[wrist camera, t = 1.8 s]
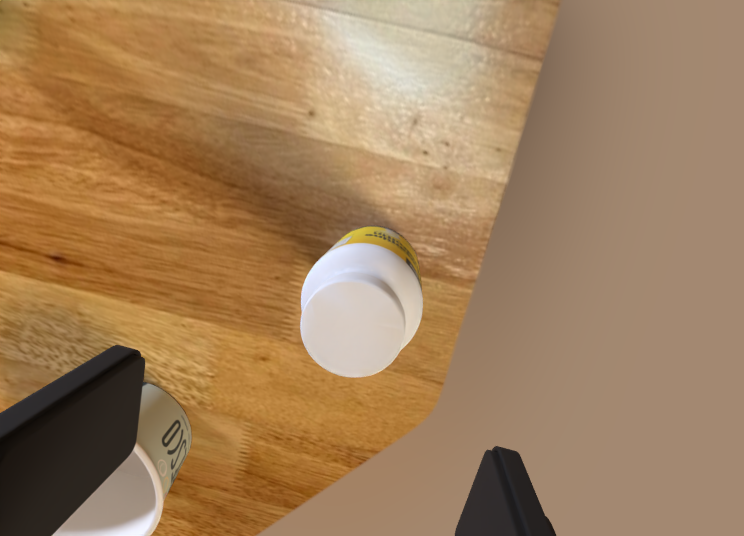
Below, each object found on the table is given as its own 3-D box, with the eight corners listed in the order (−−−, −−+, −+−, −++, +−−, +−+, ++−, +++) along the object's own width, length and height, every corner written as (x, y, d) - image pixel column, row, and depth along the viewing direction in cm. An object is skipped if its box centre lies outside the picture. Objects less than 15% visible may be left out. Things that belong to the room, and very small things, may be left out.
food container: (56, 368, 33) (-27, 415, 27) (190, 360, 32) (136, 407, 25) (95, 488, 36) (28, 556, 29) (220, 485, 34) (178, 556, 28)
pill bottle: (432, 293, 28) (448, 372, 17) (351, 322, 30) (316, 414, 18) (399, 209, 27) (393, 236, 16) (315, 243, 28) (255, 290, 17)
